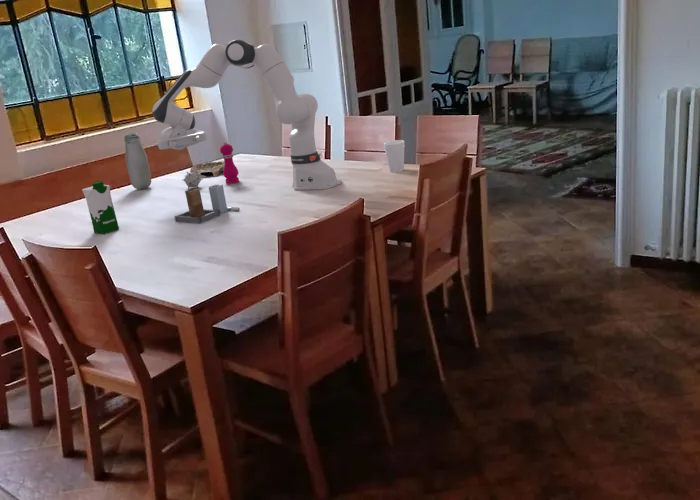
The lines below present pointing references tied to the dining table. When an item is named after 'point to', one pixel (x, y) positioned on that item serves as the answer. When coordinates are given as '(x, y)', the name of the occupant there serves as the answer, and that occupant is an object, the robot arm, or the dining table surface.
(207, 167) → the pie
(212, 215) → the tray
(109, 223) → the milk carton
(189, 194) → the walnut block
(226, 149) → the pepper mill
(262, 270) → the dining table surface
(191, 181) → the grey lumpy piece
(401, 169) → the foam cup
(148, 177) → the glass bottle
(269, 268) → the dining table surface
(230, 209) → the pin gauge
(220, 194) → the greyblue block
